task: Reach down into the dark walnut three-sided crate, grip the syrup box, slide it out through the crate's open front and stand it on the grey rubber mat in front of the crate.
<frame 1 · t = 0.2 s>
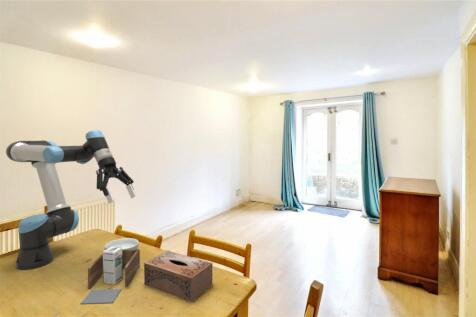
hand: (123, 199, 123), 35 cm above the table, tool tilted 30°, fingers open, 13 cm apart
syrup box: (113, 281, 117), on the table
cereal bowl: (122, 256, 142), on the table
tissue box cover: (178, 285, 115), on the table
grey mat: (101, 296, 105), on the table
open-sided crate: (116, 277, 120), on the table
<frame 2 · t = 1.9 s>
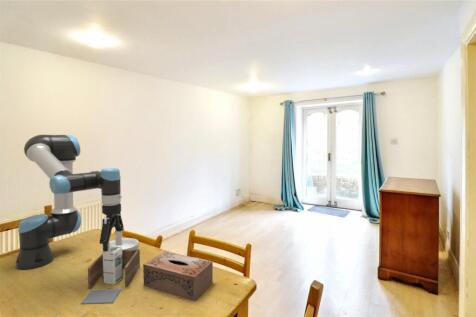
hand: (113, 251, 116), 14 cm above the table, tool pointing down, fingers open, 13 cm apart
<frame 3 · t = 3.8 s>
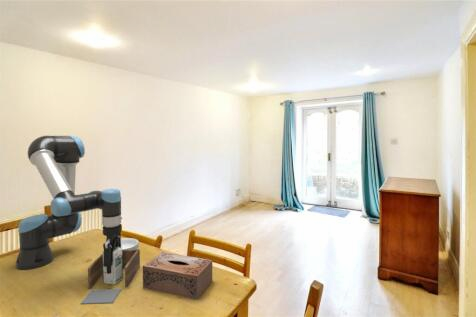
hand: (113, 275, 117), 3 cm above the table, tool pointing down, fingers closed on syrup box, 7 cm apart
syrup box: (113, 281, 117), on the table, touching gripper
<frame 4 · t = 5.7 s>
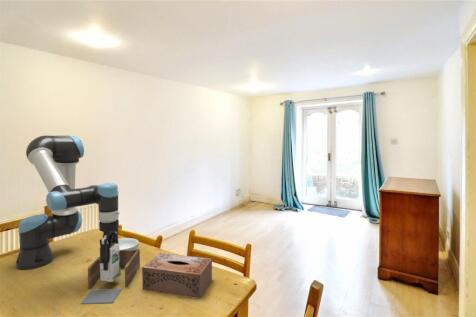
hand: (110, 272, 114), 6 cm above the table, tool pointing down, fingers closed on syrup box, 7 cm apart
syrup box: (110, 278, 114), point 3 cm above the table, touching gripper
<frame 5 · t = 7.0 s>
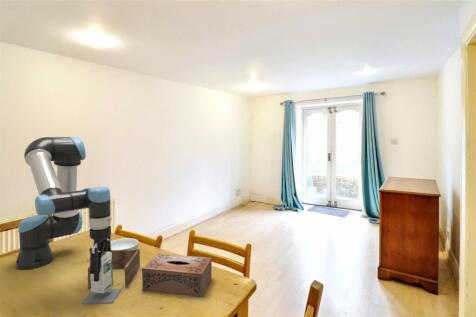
hand: (102, 282, 105), 6 cm above the table, tool pointing down, fingers closed on syrup box, 7 cm apart
syrup box: (102, 289, 106), point 3 cm above the table, touching gripper
when the fingers open (4 cm above the table, at t = 7.9 s): syrup box drops 1 cm, resting on grey mat.
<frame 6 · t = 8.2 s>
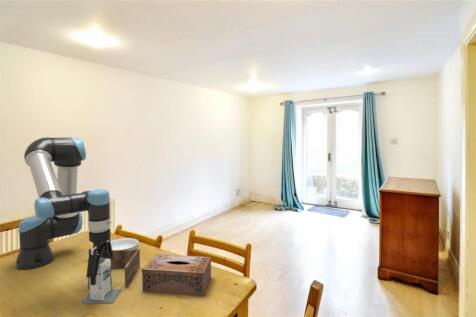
hand: (101, 283, 105), 5 cm above the table, tool pointing down, fingers open, 11 cm apart
syrup box: (101, 296, 105), resting on grey mat
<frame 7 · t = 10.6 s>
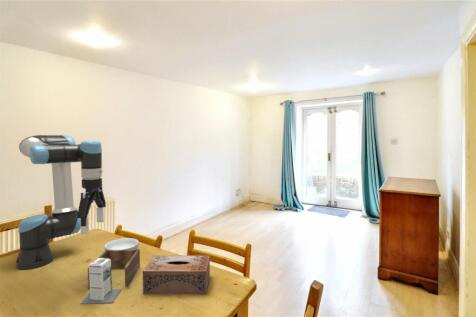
hand: (93, 227, 112), 25 cm above the table, tool pointing down, fingers open, 13 cm apart
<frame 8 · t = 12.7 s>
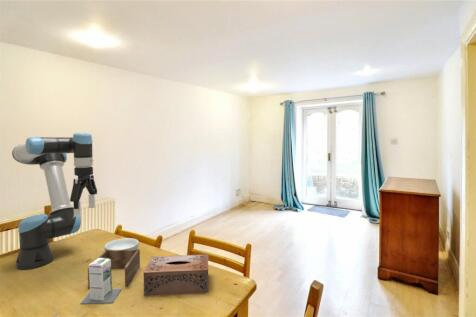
hand: (85, 211, 124), 29 cm above the table, tool pointing down, fingers open, 13 cm apart
at the end: syrup box inside the target area (0.3 cm from its centre), resting on grey mat; syrup box tilted 0°; the gripper is holding nothing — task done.
